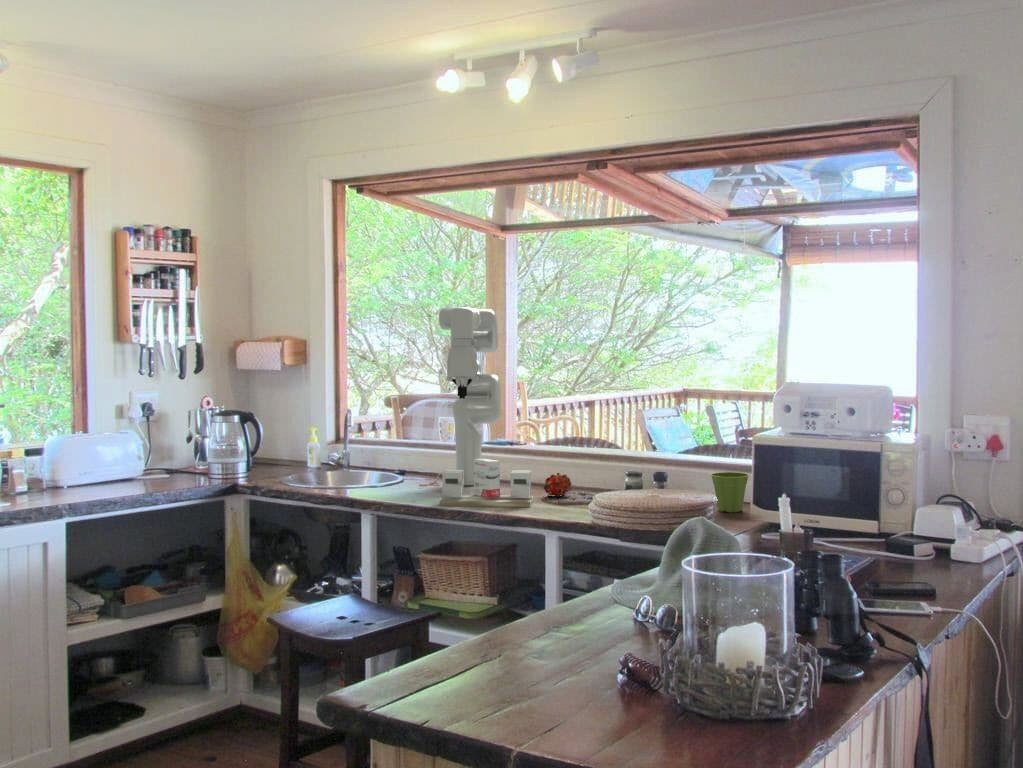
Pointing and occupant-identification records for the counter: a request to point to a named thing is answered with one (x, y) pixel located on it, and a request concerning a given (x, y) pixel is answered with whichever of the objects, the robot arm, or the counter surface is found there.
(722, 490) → the plant pot
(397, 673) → the counter surface
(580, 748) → the counter surface
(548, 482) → the dragon fruit
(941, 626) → the counter surface
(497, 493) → the ink box
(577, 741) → the counter surface
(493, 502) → the rail board
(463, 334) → the robot arm
